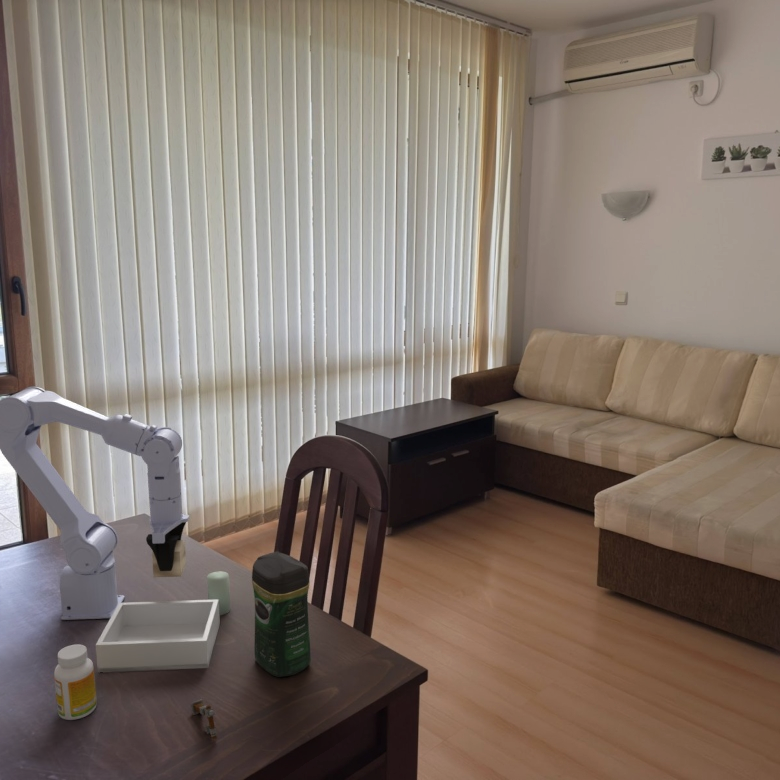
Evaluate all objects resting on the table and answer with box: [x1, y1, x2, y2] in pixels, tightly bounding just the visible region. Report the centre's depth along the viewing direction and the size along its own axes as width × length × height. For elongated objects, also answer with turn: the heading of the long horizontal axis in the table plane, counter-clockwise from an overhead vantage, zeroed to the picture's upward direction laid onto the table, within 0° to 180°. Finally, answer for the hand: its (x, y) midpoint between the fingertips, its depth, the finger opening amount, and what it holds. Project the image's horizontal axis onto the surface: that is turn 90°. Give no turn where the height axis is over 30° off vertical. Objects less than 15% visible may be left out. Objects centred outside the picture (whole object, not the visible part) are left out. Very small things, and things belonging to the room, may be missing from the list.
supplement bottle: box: [53, 643, 98, 721], centre depth 107 cm, size 5×5×10 cm
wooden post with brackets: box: [190, 698, 218, 740], centre depth 104 cm, size 2×8×4 cm, turn 32°
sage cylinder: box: [206, 570, 231, 616], centre depth 136 cm, size 4×4×7 cm
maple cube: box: [151, 539, 187, 578], centre depth 135 cm, size 5×5×5 cm
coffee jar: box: [251, 550, 312, 678], centre depth 119 cm, size 10×8×19 cm
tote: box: [95, 599, 221, 674], centre depth 124 cm, size 18×14×5 cm
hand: (169, 563), depth 135 cm, fingers closed on maple cube, 5 cm apart
